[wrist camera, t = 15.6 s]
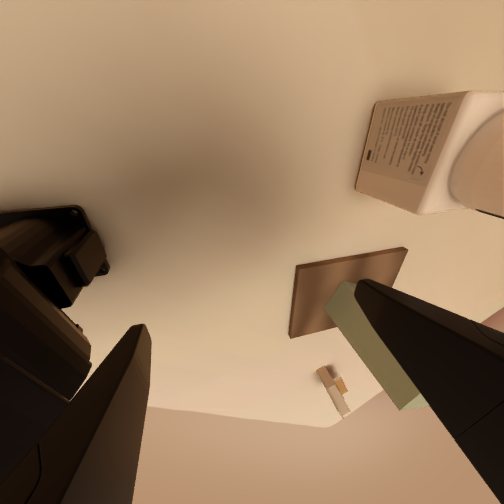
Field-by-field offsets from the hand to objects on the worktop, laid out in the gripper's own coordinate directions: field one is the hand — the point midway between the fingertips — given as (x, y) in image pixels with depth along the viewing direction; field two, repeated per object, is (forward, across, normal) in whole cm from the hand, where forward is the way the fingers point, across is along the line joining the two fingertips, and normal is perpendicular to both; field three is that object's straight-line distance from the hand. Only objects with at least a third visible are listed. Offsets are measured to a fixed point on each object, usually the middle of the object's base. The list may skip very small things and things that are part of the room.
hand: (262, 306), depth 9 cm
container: (+13, -18, -4) cm, 23 cm away
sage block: (+12, -16, +15) cm, 25 cm away
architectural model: (+14, -18, +37) cm, 43 cm away
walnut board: (+13, -16, +15) cm, 26 cm away
